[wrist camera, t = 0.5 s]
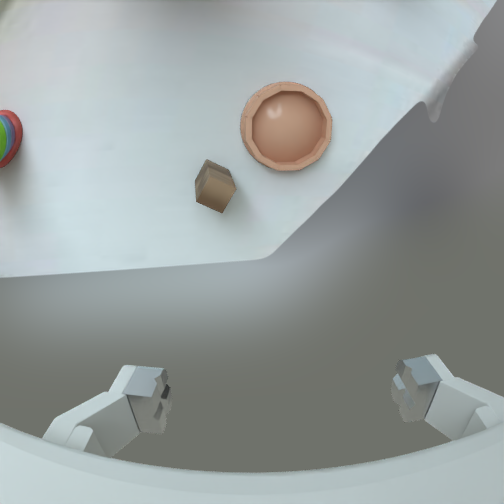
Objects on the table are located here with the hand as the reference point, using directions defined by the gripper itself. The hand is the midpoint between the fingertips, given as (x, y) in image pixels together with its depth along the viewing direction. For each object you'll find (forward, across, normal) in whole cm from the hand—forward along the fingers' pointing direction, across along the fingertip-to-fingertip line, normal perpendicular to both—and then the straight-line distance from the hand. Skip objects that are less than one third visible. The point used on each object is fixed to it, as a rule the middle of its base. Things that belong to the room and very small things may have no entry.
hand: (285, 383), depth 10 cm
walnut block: (+48, +9, -4) cm, 49 cm away
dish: (+48, -4, -13) cm, 50 cm away
